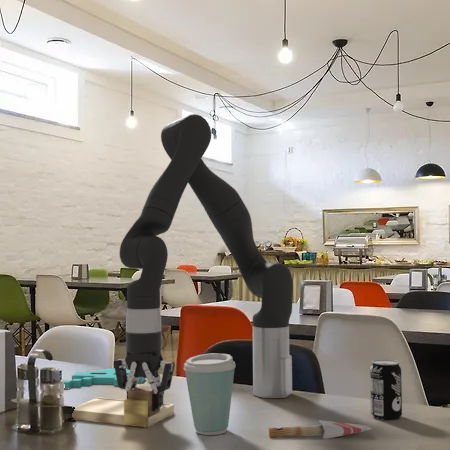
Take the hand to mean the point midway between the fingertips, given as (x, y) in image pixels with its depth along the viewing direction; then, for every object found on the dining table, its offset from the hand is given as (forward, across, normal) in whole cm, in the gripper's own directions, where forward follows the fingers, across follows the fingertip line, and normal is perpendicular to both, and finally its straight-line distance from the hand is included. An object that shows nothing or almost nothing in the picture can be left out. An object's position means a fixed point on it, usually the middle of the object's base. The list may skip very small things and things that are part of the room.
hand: (144, 409), depth 136 cm
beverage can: (+3, -48, -22) cm, 53 cm away
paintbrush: (+3, -37, -4) cm, 37 cm away
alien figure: (+4, +30, -34) cm, 46 cm away
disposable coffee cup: (+3, -16, +1) cm, 16 cm away
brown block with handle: (+2, 0, -2) cm, 3 cm away
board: (+3, +8, -3) cm, 9 cm away
